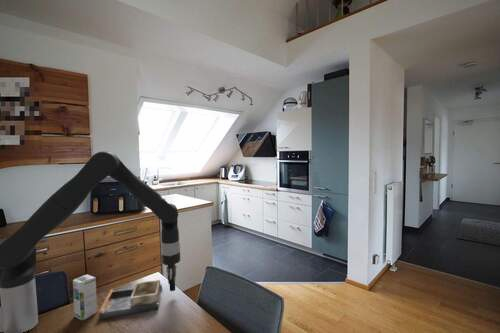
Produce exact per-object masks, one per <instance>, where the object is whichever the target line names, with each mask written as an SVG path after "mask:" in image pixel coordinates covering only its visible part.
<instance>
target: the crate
mask: <svg viewBox="0 0 500 333" xmlns="http://www.w3.org/2000/svg"><path fill="white" fill-rule="evenodd" d="M160 284H161V279H153V280H148V281H146V280H145V281H140V282H139V281H138V282H135V285H134V287H133V288H134V290H133V292H132V295H131V297H130V304H131V307H132V306H139V305H145V304H152V303H158V301H159V296H160V291H161V287H160Z"/></svg>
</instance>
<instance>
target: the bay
mask: <svg viewBox="0 0 500 333" xmlns="http://www.w3.org/2000/svg"><path fill="white" fill-rule="evenodd" d="M160 287H161V291H160V296H159V301H158V303H152V304H145V305H139V306H132V307H131V304H130V297H131V295H132V292H133V290H134V287H131V288H124V289H123V288H122V289H115V288H111V289H110V290H109V292H108V294H107V296H106V298H105V299H104V300H103V303H102V305H101V306H100V308H99V310H98V318H99V319H98V320H104V319H110V318H111V319H112V318H118V317H122V316H128V315H137V314H141V313H142V314H143V313H149V312H155V311H159V307H160V304H161V303H160V302H161V296H162V290H163V284H162V283H160Z"/></svg>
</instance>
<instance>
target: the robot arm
mask: <svg viewBox="0 0 500 333" xmlns="http://www.w3.org/2000/svg"><path fill="white" fill-rule="evenodd" d="M107 177H109V178H112V179H113V180H115V181H116V182H118V184H120V185H121V186H122V187H124V189H126V190H127V191H128V192H129V193H130V195H131V196H132V197H133V198H135V199H136V201H138V202H139V203H140V204H142V205H143V206H145V207H146V208H147V209H149V210H150V211H151V212H152V213H153V214H154V215H155V216H156V217H157V218H158V219H159V220H160V221H161V233H160V234H161V235H160V236H161V246H160V247H161V248H160V249H161V263H162V264H163V265H164V266H166V274H167V282H168V285H169V292H174V291H175V290H176V277H177V264H178V263H180V262H181V243H180V232H179V226H178V223H179V222H178V217H179V210H178V207H177V206H176V205H175V204H173V203H169V202H168V201H167V200H165V199H164V198H163V197H162V196H161V194H160V193H159V192H157V191H156V190H155V189H154V188H152V187H151V186H150V185H148V184H147V183H146V182H144V181H143V180H142V179H140V178H139V177H138V176H137V175H136V174H134V173H133V172H132V171H131V169H129V168H128V167H127V166H126V165H125V164H124V163H123V161H122V160H121V159H120V158H119V157H118V155H117V154H115V153H114V152H111V151H106V150H105V151H104V150H103V151H99V152H96V153H94V154H93V155H92V156H91V157H90V158H89V159H88V160H87V162H86V163H85V164H84V166H82V168H81V169H80V170H79V171H78V172H77V173H76V174H75V175H74V176H73V177H72V178H71V179H69V180H68V181H67V182H66V183H64V184H63V185H62V186H61V187H59V188H58V190H56V191H54V193H53V194H51V195H50V196H49V198H47V199H46V200H45V201H44V202H43V204H41V205H40V206H39V208H38V209H36V211H34V213H33V214H32V215H31V216H29V218H28V219H27V221H26V222H25V223H24V224H23V225H22V226H21V227H19V229H17V230H16V231H15V232H14V233H12V234H11V235H10V236H8V237H7V238H6V239H5V240H3V241H2V242H0V269H3V271H2V273H1V275H0V332H4V333H23V332H25V333H27V332H29V331H31V330H32V329H33V328H35V327H36V326H37V325H38V323H39V311H38V302H37V301H38V300H37V288H36V287H37V286H36V275H35V274H36V270H37V246H36V245H37V244H38V243H39V242H40V241H41V240H42V239H43V238H44V237H46V236H47V235H48V234H50V233H51V232H53V230H55V229H56V228H58V227H59V226H60V225H61V224H62V223H64V222H65V221H67V219H68V218H69V217H70V216H71V215H72V214H73V213H75V212H76V211H77V210H78V209H79V208H80V207H81V205H82V204H83V202H85V200H86V198H87V197H88V196H89V195H90V193H91V191H92V190H93V189H94V188H95V187H96V186H98V185H99V184H100V183H101V182H102V181H104V179H106V178H107ZM28 330H29V331H28ZM26 331H27V332H26Z"/></svg>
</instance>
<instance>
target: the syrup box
mask: <svg viewBox="0 0 500 333" xmlns="http://www.w3.org/2000/svg"><path fill="white" fill-rule="evenodd" d="M72 287H73V288H72V289H73V292H72V293H73V310H74V312H73V313H74V317H75V318H77V319H78V320H80V321H85V320H87V319H88V318H90V317H91V316H93V315H95V314H96V313H97V312H98V305H97V304H98V302H97V280H96V276H92V275H90V274H84V275H82V276H79V277H77V278H74V279H73V280H72Z"/></svg>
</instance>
